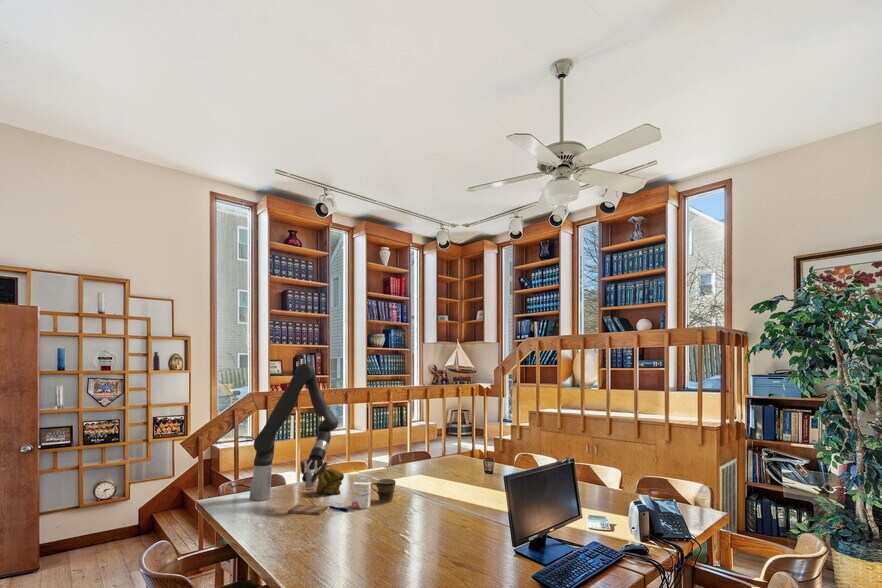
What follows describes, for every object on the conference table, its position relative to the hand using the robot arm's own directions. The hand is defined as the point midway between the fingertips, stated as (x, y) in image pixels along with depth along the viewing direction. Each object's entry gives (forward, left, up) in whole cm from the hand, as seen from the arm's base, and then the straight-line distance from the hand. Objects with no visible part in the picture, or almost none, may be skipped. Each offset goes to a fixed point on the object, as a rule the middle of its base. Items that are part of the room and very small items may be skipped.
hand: (308, 481), depth 231 cm
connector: (0, +2, -4) cm, 4 cm away
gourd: (-3, +35, -14) cm, 38 cm away
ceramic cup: (+31, +25, -14) cm, 42 cm away
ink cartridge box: (+23, +13, -14) cm, 30 cm away
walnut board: (0, +2, -14) cm, 14 cm away
